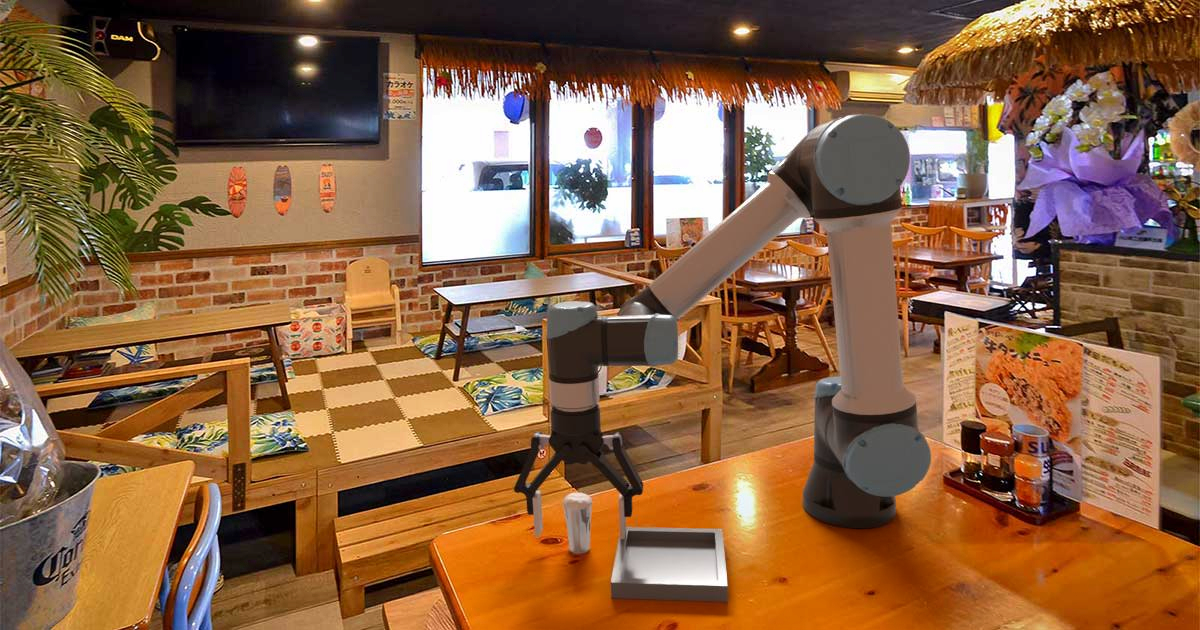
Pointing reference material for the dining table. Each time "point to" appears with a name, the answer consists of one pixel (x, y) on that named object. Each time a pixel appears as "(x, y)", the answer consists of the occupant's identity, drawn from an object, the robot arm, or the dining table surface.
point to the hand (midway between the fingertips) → (580, 533)
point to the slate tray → (670, 565)
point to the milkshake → (578, 521)
